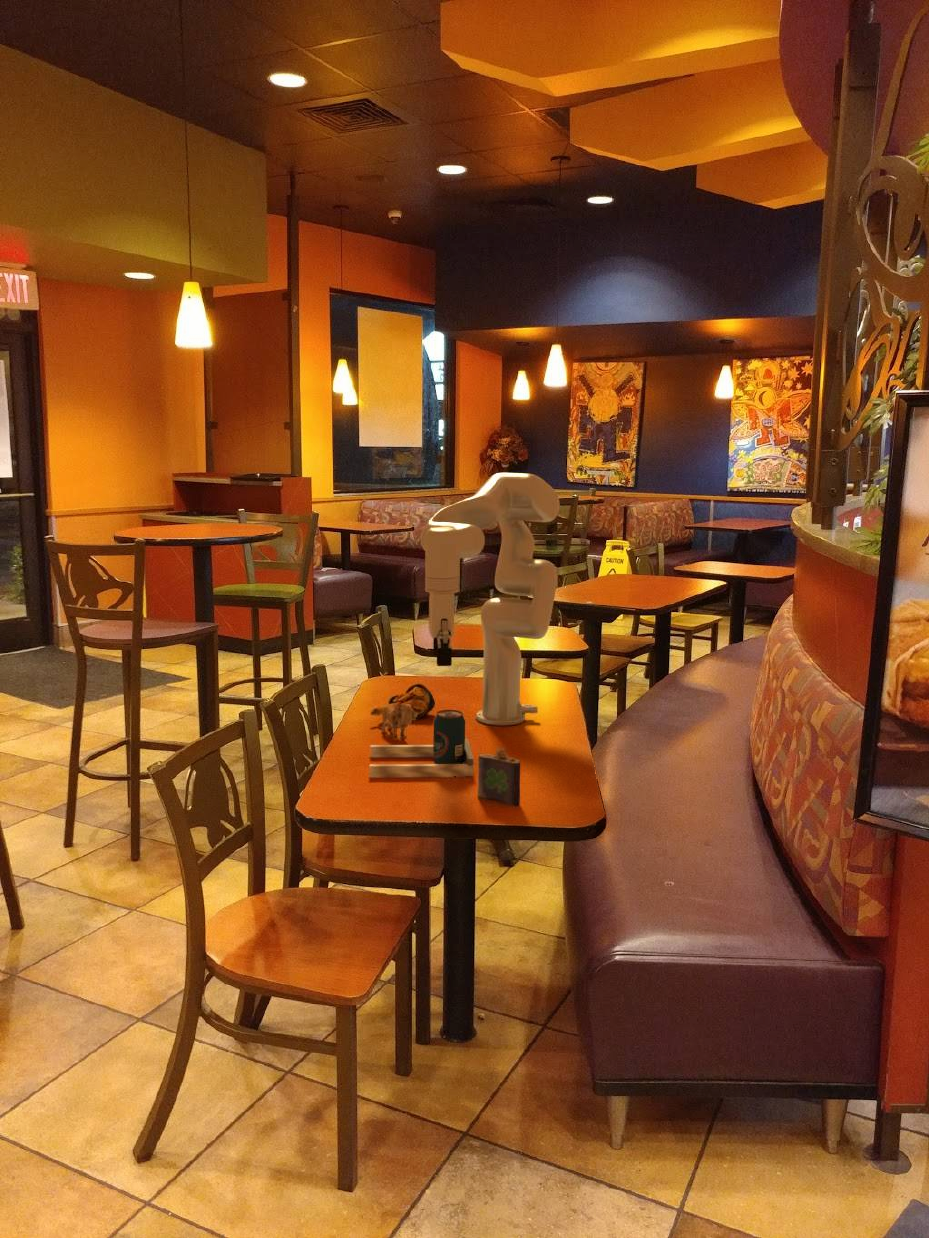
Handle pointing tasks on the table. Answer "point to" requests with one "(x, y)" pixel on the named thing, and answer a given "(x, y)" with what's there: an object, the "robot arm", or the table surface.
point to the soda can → (449, 737)
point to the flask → (499, 778)
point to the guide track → (417, 769)
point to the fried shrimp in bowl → (412, 701)
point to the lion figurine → (397, 718)
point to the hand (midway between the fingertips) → (442, 659)
